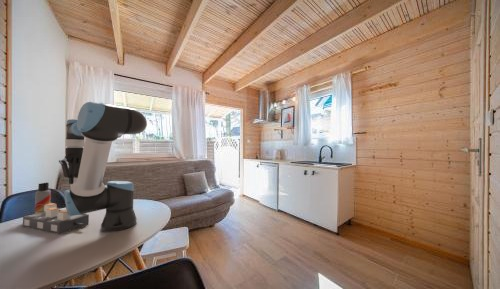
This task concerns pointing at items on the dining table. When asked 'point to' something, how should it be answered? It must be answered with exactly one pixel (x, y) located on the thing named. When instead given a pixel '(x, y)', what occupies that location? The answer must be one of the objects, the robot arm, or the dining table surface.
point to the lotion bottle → (42, 197)
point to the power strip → (54, 222)
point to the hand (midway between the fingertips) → (73, 189)
